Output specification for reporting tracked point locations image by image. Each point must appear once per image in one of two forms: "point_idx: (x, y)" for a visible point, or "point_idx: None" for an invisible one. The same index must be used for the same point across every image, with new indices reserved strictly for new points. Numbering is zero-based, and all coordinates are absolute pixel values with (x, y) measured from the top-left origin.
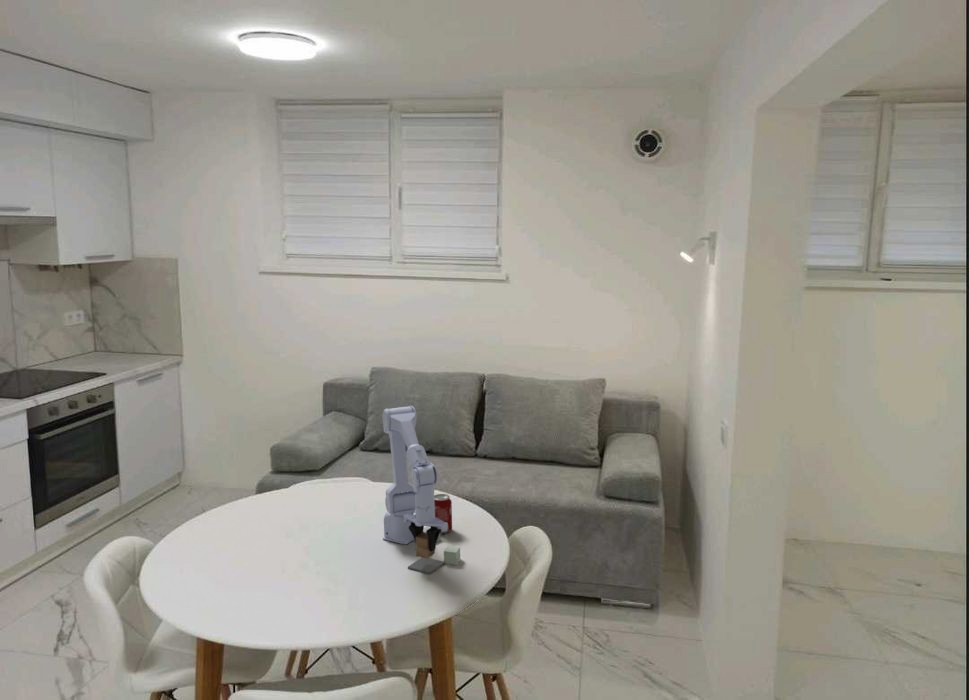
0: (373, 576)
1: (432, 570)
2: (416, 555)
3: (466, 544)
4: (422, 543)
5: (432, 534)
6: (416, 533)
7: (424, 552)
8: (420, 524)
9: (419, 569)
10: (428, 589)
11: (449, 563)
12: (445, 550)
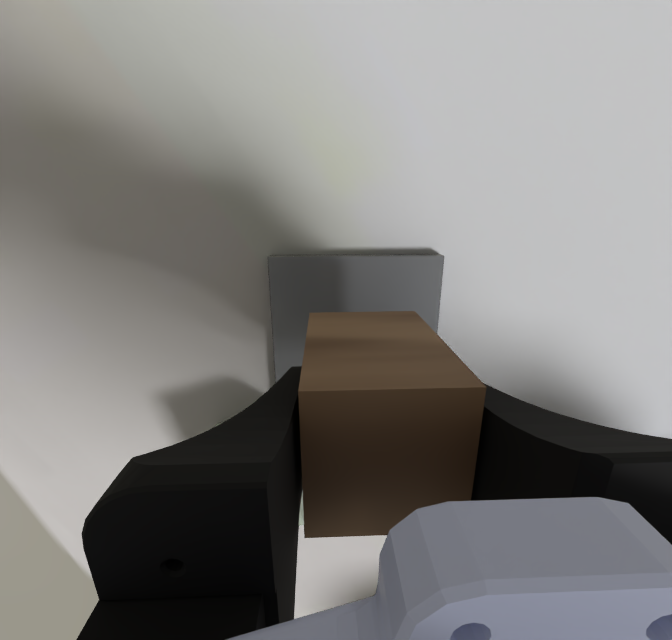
0: (607, 30)
1: (272, 289)
2: (413, 311)
3: (311, 598)
4: (365, 359)
5: (138, 457)
6: (507, 440)
7: (337, 326)
8: (420, 607)
9: (353, 259)
10: (141, 60)
11: None
12: None
